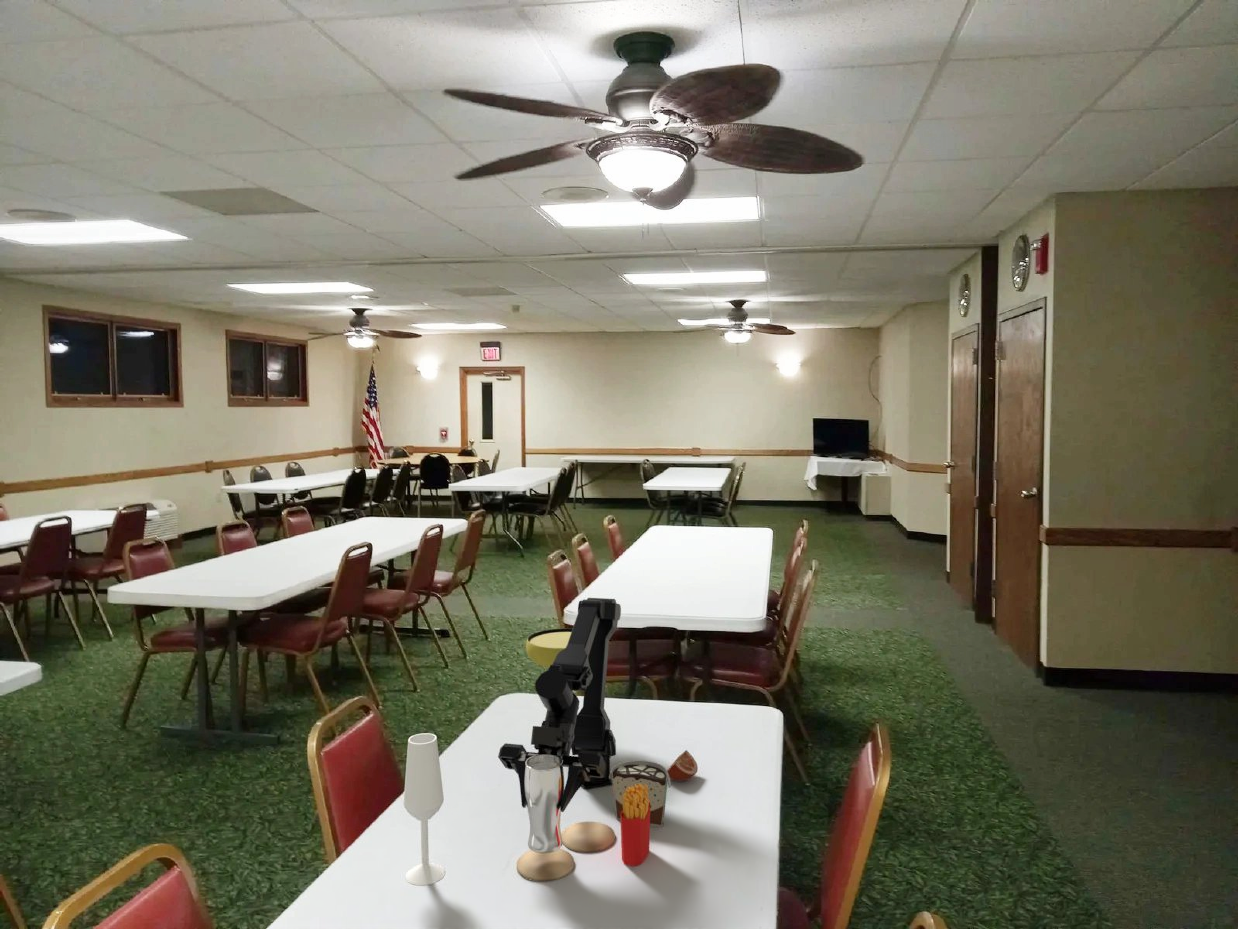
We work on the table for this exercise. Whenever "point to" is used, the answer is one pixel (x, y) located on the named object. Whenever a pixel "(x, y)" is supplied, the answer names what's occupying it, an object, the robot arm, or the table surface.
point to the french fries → (635, 825)
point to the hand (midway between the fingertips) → (542, 809)
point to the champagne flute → (423, 799)
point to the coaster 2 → (588, 836)
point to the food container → (644, 775)
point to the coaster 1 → (545, 865)
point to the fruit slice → (683, 767)
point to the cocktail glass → (547, 645)
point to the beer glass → (544, 801)
